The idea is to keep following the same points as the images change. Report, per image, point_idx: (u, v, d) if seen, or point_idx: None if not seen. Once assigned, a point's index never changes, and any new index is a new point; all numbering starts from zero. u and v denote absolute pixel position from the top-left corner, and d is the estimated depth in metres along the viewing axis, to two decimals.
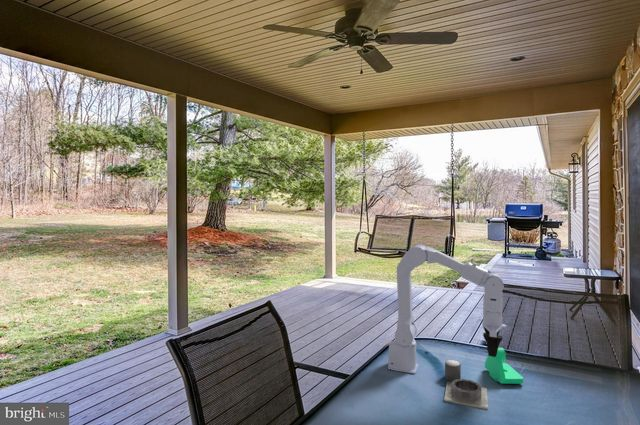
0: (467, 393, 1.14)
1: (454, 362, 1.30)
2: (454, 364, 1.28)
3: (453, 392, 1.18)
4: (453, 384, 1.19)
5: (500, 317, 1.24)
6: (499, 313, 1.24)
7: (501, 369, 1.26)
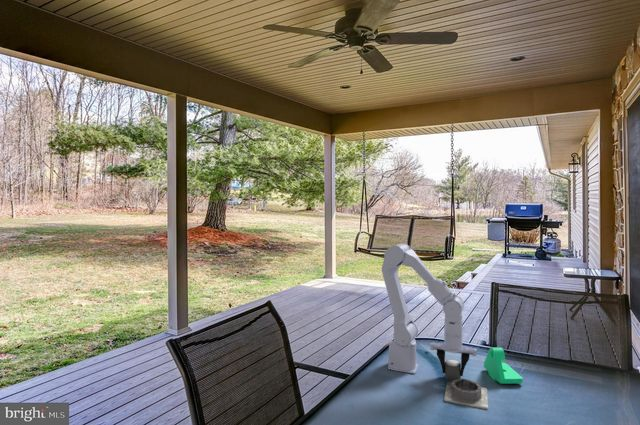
0: (467, 393, 1.14)
1: (454, 362, 1.30)
2: (454, 364, 1.28)
3: (453, 392, 1.18)
4: (453, 384, 1.19)
5: (447, 339, 1.28)
6: (446, 334, 1.28)
7: (500, 369, 1.26)
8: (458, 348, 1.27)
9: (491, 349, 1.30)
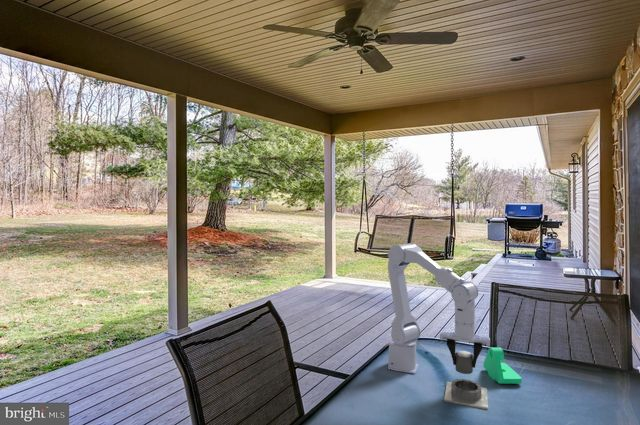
0: (467, 393, 1.14)
1: (465, 353, 1.21)
2: (466, 355, 1.19)
3: (453, 392, 1.18)
4: (453, 384, 1.19)
5: (458, 328, 1.18)
6: (457, 323, 1.19)
7: (499, 369, 1.26)
8: (470, 337, 1.17)
9: (490, 349, 1.31)
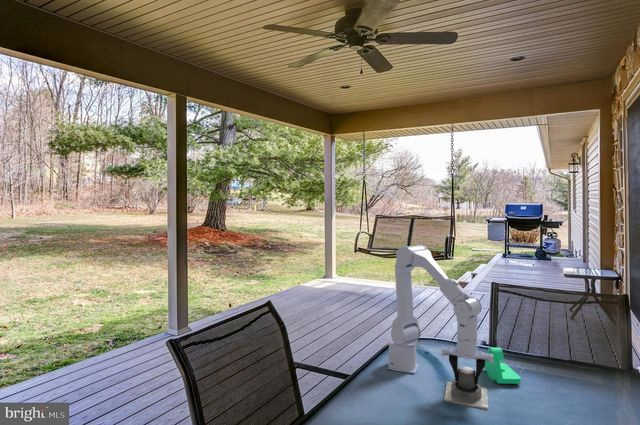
0: (467, 393, 1.14)
1: (468, 369, 1.18)
2: (468, 371, 1.17)
3: (453, 392, 1.18)
4: (453, 384, 1.19)
5: (460, 344, 1.16)
6: (459, 339, 1.17)
7: (498, 369, 1.26)
8: (473, 354, 1.15)
9: (490, 349, 1.31)
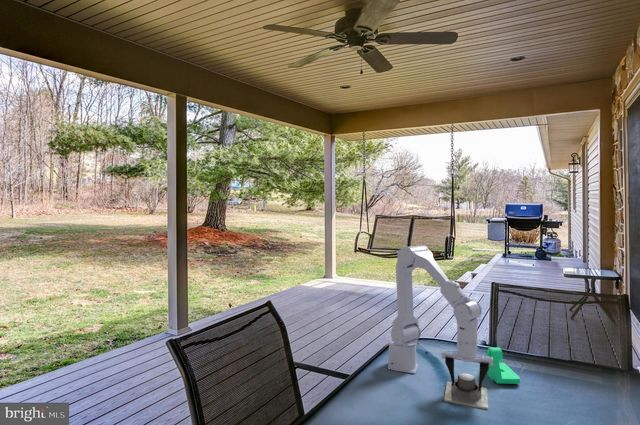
0: (467, 393, 1.14)
1: (468, 376, 1.19)
2: (468, 378, 1.17)
3: (453, 392, 1.18)
4: (453, 384, 1.19)
5: (460, 347, 1.16)
6: (459, 342, 1.17)
7: (498, 369, 1.26)
8: (473, 357, 1.15)
9: (489, 349, 1.31)
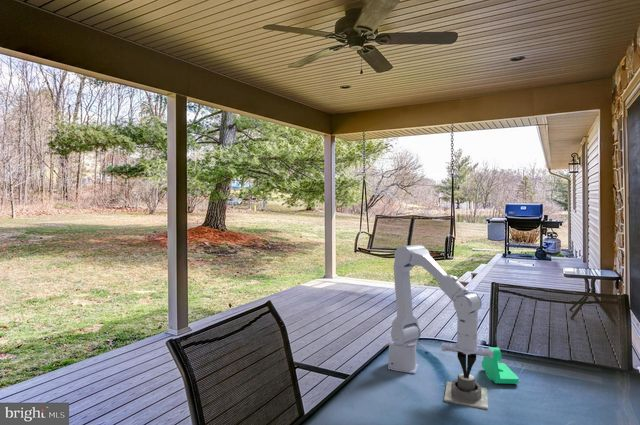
0: (467, 393, 1.14)
1: None
2: (468, 378, 1.17)
3: (453, 392, 1.18)
4: (453, 384, 1.19)
5: (460, 339, 1.16)
6: (459, 334, 1.17)
7: (496, 369, 1.26)
8: (473, 349, 1.15)
9: None
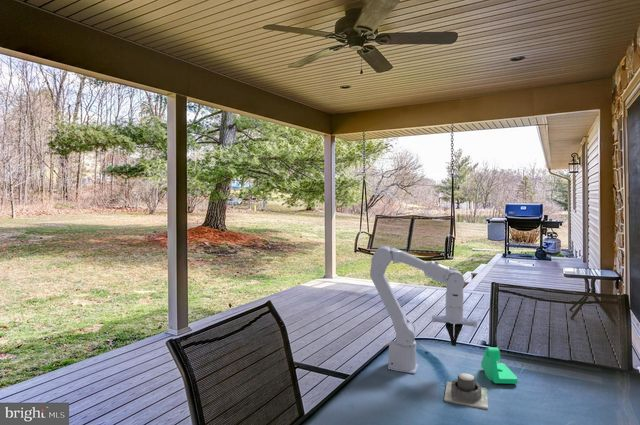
0: (467, 393, 1.14)
1: (468, 376, 1.19)
2: (468, 378, 1.17)
3: (453, 392, 1.18)
4: (453, 384, 1.19)
5: (448, 311, 1.31)
6: (447, 306, 1.32)
7: (495, 369, 1.26)
8: (459, 319, 1.30)
9: (487, 349, 1.31)
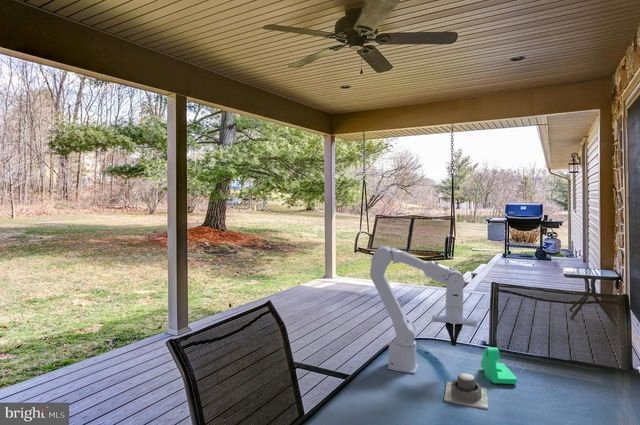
0: (467, 393, 1.14)
1: (468, 376, 1.19)
2: (468, 378, 1.17)
3: (453, 392, 1.18)
4: (453, 384, 1.19)
5: (448, 311, 1.31)
6: (447, 306, 1.32)
7: (494, 369, 1.26)
8: (459, 319, 1.30)
9: (486, 349, 1.31)
